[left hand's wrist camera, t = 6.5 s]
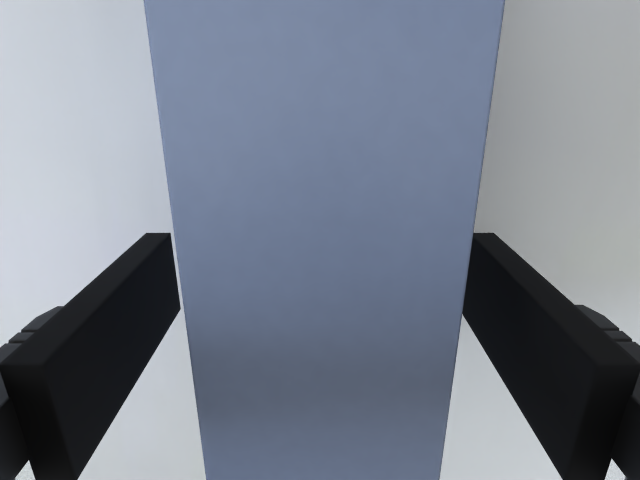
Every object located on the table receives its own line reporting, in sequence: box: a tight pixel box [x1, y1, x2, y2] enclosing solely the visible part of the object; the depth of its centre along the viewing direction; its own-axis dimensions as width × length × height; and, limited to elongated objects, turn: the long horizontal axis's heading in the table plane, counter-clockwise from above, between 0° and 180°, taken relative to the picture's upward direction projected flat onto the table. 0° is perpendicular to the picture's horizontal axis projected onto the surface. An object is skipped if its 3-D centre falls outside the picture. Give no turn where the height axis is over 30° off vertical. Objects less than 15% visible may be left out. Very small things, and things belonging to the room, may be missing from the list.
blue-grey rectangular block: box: [144, 0, 505, 480], centre depth 12 cm, size 16×5×10 cm, turn 0°
